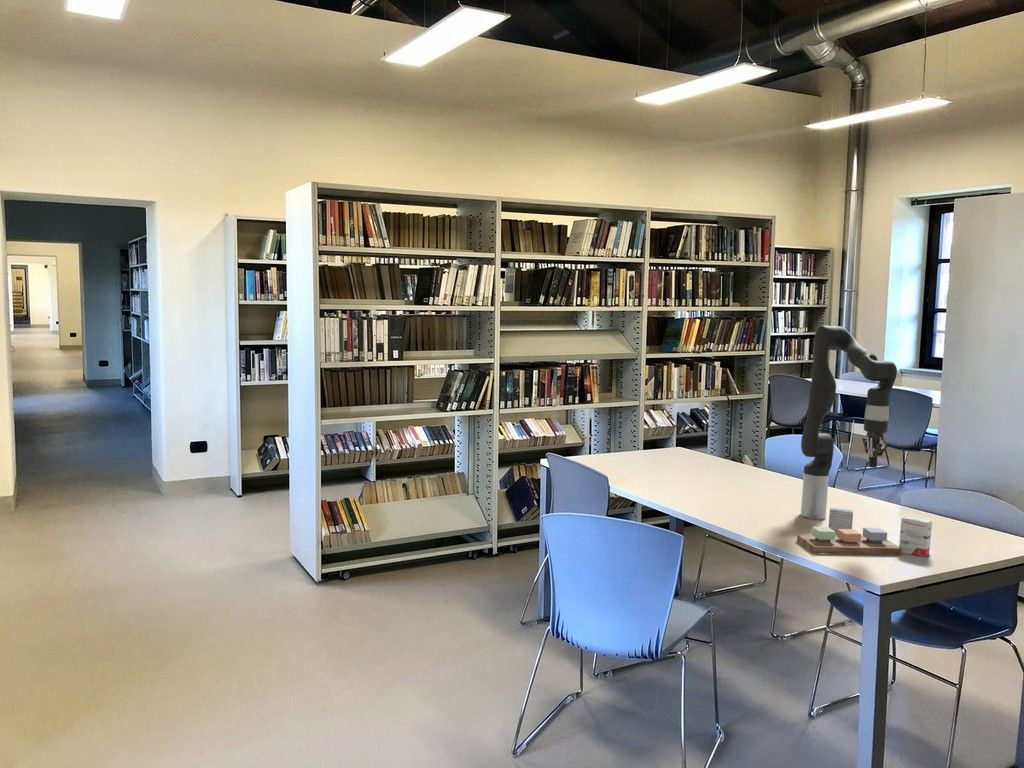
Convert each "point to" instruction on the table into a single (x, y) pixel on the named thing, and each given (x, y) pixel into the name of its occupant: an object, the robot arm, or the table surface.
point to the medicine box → (840, 518)
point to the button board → (849, 546)
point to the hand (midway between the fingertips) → (872, 467)
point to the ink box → (915, 536)
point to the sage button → (823, 533)
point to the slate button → (875, 534)
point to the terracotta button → (849, 535)
